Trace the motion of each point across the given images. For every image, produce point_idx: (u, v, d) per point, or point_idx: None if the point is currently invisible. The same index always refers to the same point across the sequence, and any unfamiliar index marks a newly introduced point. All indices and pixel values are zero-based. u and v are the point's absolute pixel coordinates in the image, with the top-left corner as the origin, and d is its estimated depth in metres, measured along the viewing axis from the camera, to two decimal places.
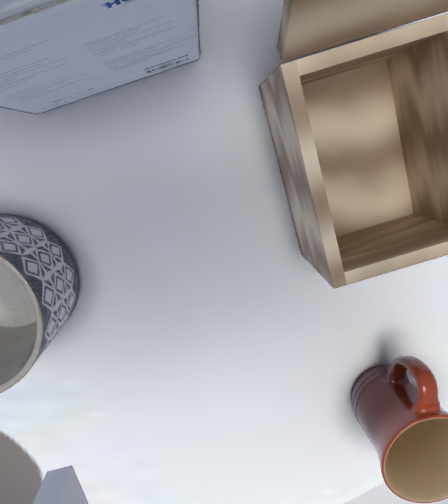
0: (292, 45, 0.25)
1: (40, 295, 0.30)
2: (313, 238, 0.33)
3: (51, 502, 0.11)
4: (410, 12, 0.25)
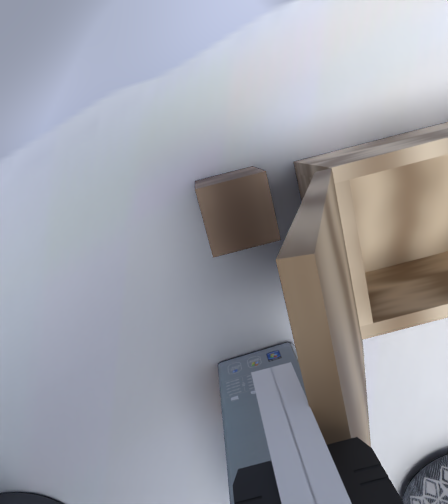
0: (362, 348, 0.26)
1: None
2: None
3: (273, 388, 0.13)
4: (342, 236, 0.25)
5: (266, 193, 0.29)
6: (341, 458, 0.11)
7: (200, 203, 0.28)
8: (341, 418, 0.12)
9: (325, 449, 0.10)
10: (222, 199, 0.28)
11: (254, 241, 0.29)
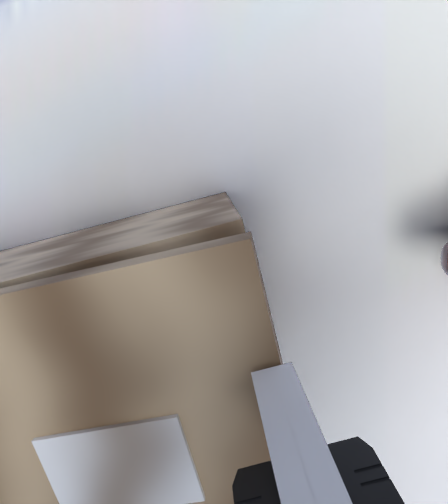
0: None
1: None
2: None
3: (273, 388, 0.13)
4: None
5: None
6: (341, 457, 0.11)
7: None
8: (281, 358, 0.15)
9: (326, 449, 0.10)
10: None
11: None
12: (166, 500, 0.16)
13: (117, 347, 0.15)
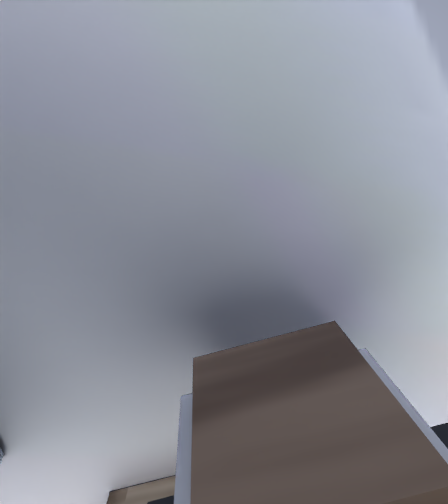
0: None
1: None
2: None
3: None
4: None
5: None
6: (442, 442, 0.10)
7: (406, 501, 0.07)
8: None
9: (431, 432, 0.10)
10: None
11: None
12: None
13: None
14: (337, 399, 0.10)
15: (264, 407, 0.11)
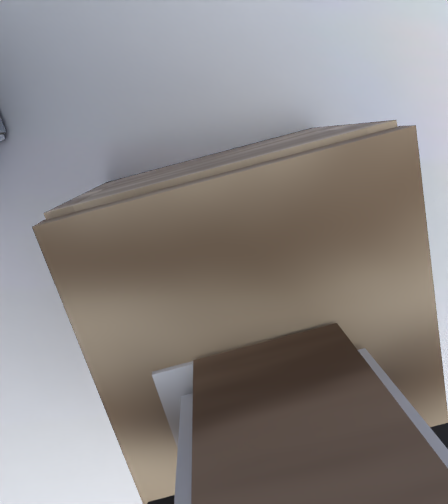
0: None
1: None
2: None
3: None
4: None
5: None
6: (443, 442, 0.10)
7: None
8: None
9: (430, 432, 0.10)
10: None
11: None
12: None
13: None
14: (340, 407, 0.10)
15: (266, 413, 0.10)
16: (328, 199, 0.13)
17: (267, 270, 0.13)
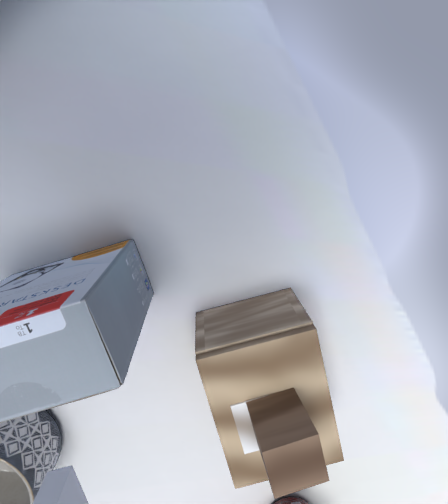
0: None
1: (33, 482, 0.44)
2: None
3: (51, 502, 0.11)
4: None
5: (312, 483, 0.36)
6: None
7: (307, 438, 0.34)
8: None
9: None
10: (309, 454, 0.35)
11: (274, 480, 0.35)
12: (243, 441, 0.42)
13: None
14: (293, 416, 0.37)
15: (273, 419, 0.38)
16: (289, 350, 0.40)
17: (269, 372, 0.41)
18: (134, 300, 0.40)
